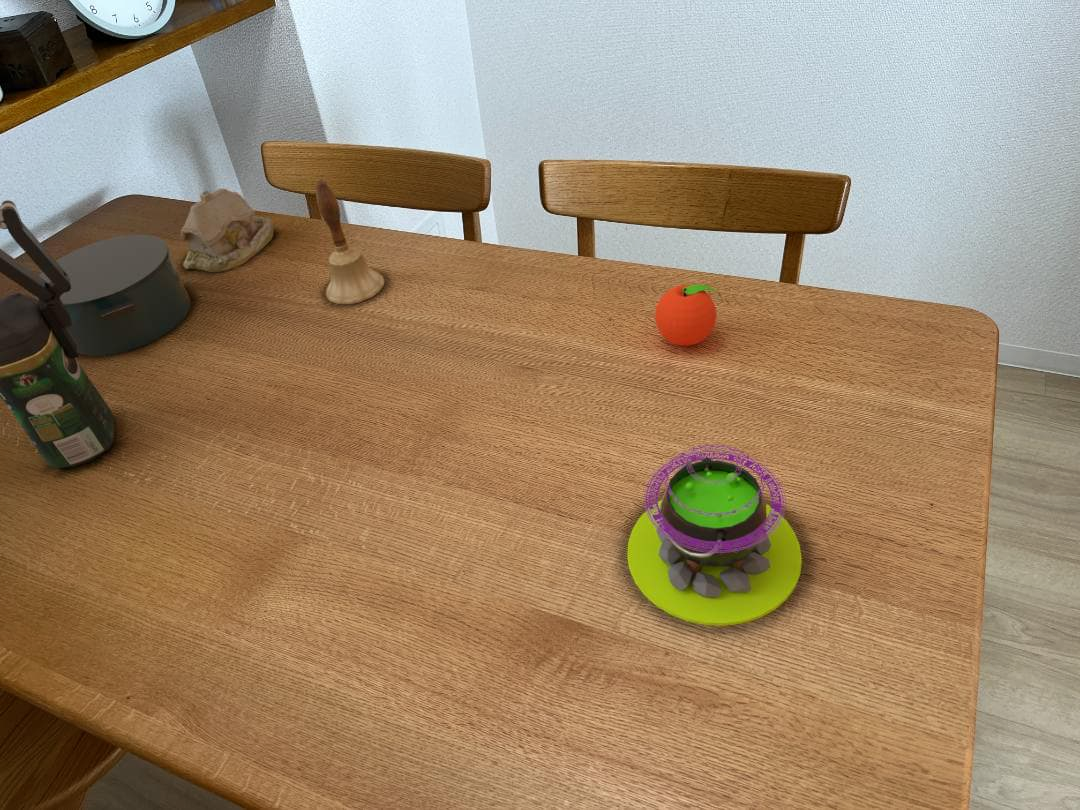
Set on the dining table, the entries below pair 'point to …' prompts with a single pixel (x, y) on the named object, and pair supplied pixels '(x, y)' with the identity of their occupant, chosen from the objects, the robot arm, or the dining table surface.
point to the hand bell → (345, 257)
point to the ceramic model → (223, 232)
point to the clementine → (686, 314)
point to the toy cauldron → (714, 542)
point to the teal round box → (121, 294)
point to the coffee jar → (49, 388)
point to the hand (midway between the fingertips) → (32, 367)
